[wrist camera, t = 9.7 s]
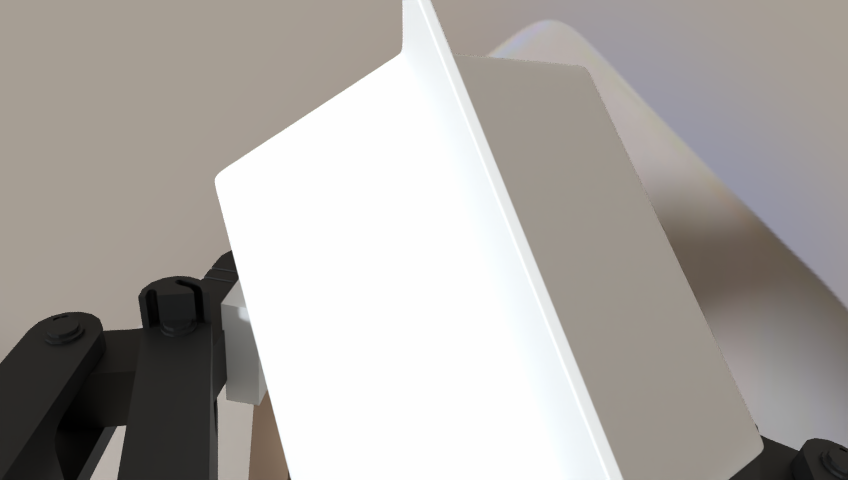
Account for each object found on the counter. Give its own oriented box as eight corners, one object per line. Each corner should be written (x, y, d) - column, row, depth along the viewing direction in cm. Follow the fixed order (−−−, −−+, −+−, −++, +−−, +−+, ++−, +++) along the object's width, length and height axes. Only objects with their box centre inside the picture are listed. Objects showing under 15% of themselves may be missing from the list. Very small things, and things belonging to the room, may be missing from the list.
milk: (465, 286, 27) (699, -130, 5) (510, 408, 25) (1071, 487, 4) (345, 325, 26) (81, 24, 5) (384, 454, 24) (251, 853, 3)
